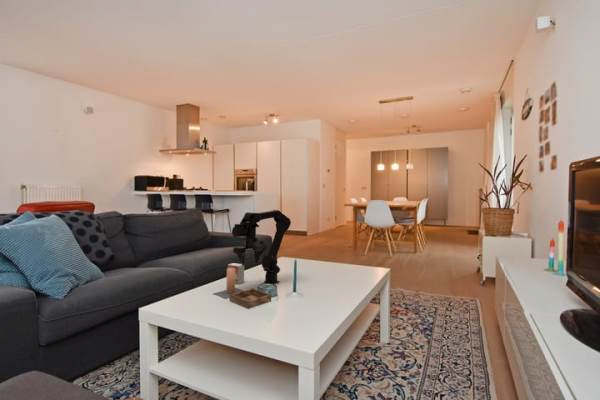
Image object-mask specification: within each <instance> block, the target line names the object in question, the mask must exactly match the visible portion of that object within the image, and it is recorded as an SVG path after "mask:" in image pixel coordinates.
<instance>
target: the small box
mask: <svg viewBox="0 0 600 400" xmlns="http://www.w3.org/2000/svg"><path fill="white" fill-rule="evenodd" d="M227 268H235V285H237V286H238V285H240V284H243V283H244V282H245V265H244V266H242V264H241V263H237V262H236V263H235V262H233V263H232V262H231V263H229V264H227Z"/></svg>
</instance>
